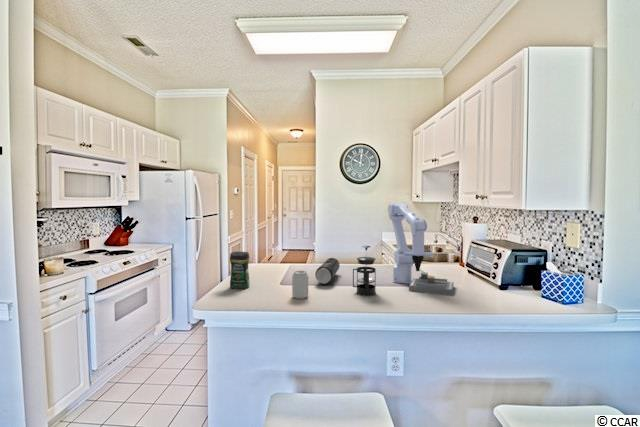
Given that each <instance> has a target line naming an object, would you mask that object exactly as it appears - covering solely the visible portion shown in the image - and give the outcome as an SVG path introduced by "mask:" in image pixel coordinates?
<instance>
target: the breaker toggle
mask: <svg viewBox="0 0 640 427" xmlns="http://www.w3.org/2000/svg"><path fill="white" fill-rule="evenodd" d="M435 278H436V277H435V275H428V283H432V284H435Z"/></svg>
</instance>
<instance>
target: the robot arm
mask: <svg viewBox="0 0 640 427" xmlns="http://www.w3.org/2000/svg"><path fill="white" fill-rule="evenodd" d="M387 212H388V217H389V220H391V222H392V227H393V231H394V232H393V233H394V237H395V241H396V246H397V249H396V250H395V251H394V262H395V264H394V265H393V276H392V277H393V278H392V283H399V284H409V285H410V283H411V282H412V280H413V279H412V270H413V269H412V267H413V265H414V266H415V271H416V272H420V269H421V265H422V262H423V260H424V258H432V259H433V258H434V252H433V253H432V252H425V232H426V231H427V228H428V224H427V221H426V219H420V217H419V216H418V215H417V214H416V213H415V212H411V211H410V209H409V205H408V204H407V203H406V202H404V203H402V202H401V203H400V202H399V203H397V202H396V203H392V202H391V203H388V206H387ZM404 220H405V222H406V223H408V225H409V227H410V230H411V232H410V233H411V235H412V237H411V238H412V239H411V240H412V244H411V248H412V249H411V248H410V247H408V244H407V240H406V236H405V231H404V227H403V221H404Z"/></svg>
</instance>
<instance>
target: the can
mask: <svg viewBox="0 0 640 427" xmlns="http://www.w3.org/2000/svg"><path fill="white" fill-rule="evenodd" d="M291 276H292V277H291V279H292V280H291V282H292V285H291V289H292V290H291V291H292V293H291V295H292V297H293V298H294V299H297V300H303V299H307V297H308V296H309V274H308V272H307V271H306V270H295V271H293V274H292V275H291Z"/></svg>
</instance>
